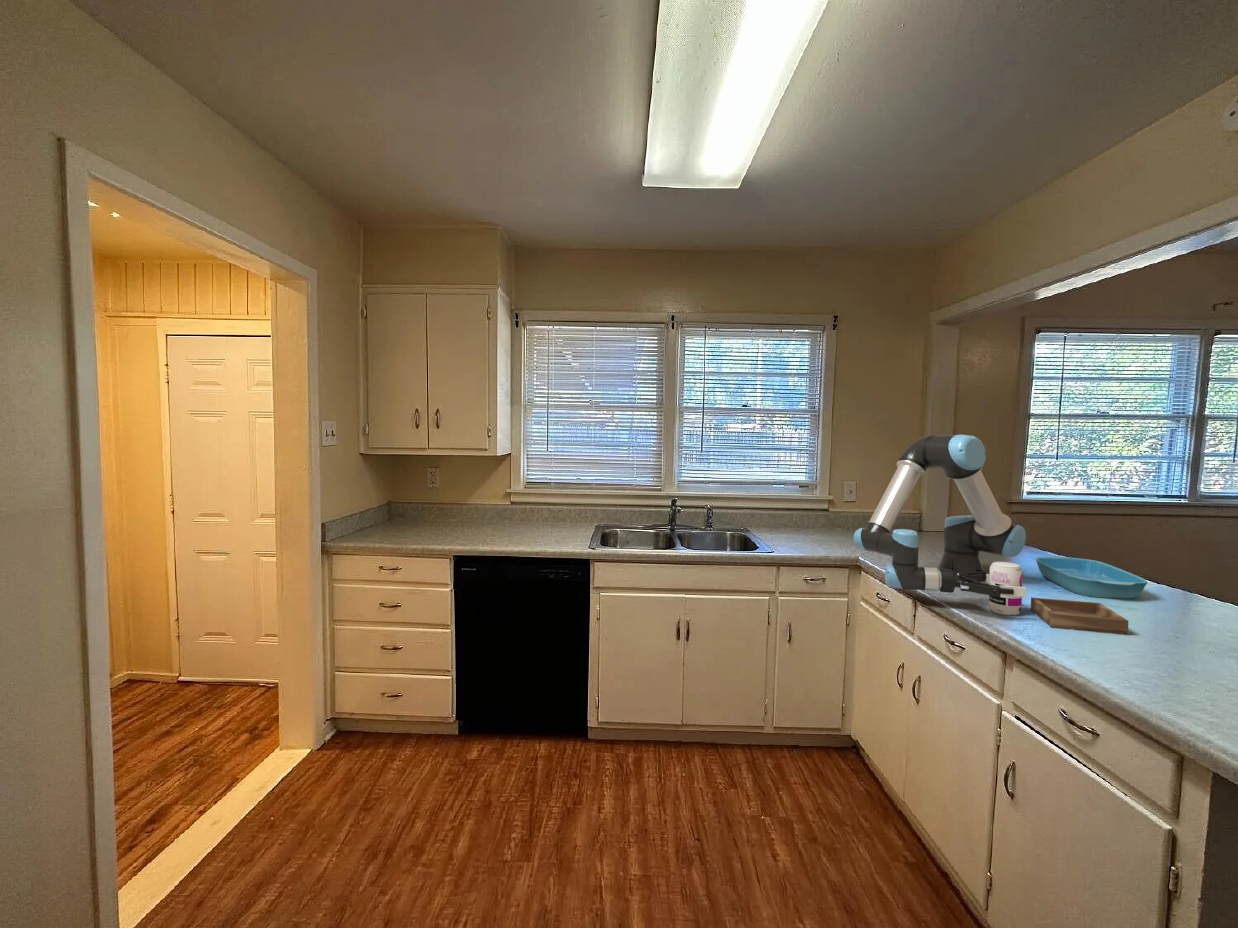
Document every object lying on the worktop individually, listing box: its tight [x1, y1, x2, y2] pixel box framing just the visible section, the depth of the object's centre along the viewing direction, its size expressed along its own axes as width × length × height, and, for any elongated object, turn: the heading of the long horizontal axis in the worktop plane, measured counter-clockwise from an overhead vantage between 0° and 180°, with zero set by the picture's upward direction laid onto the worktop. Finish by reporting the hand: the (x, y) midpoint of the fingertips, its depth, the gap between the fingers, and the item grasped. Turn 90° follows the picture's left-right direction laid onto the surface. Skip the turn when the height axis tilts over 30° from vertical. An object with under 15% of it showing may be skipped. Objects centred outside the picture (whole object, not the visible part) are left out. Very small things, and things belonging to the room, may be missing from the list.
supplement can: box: [988, 561, 1024, 616], centre depth 162 cm, size 8×8×15 cm
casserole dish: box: [1035, 555, 1148, 600], centre depth 187 cm, size 37×22×7 cm, turn 165°
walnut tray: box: [1030, 597, 1129, 636], centre depth 153 cm, size 16×17×4 cm
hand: (1018, 585), depth 161 cm, fingers open, 13 cm apart
